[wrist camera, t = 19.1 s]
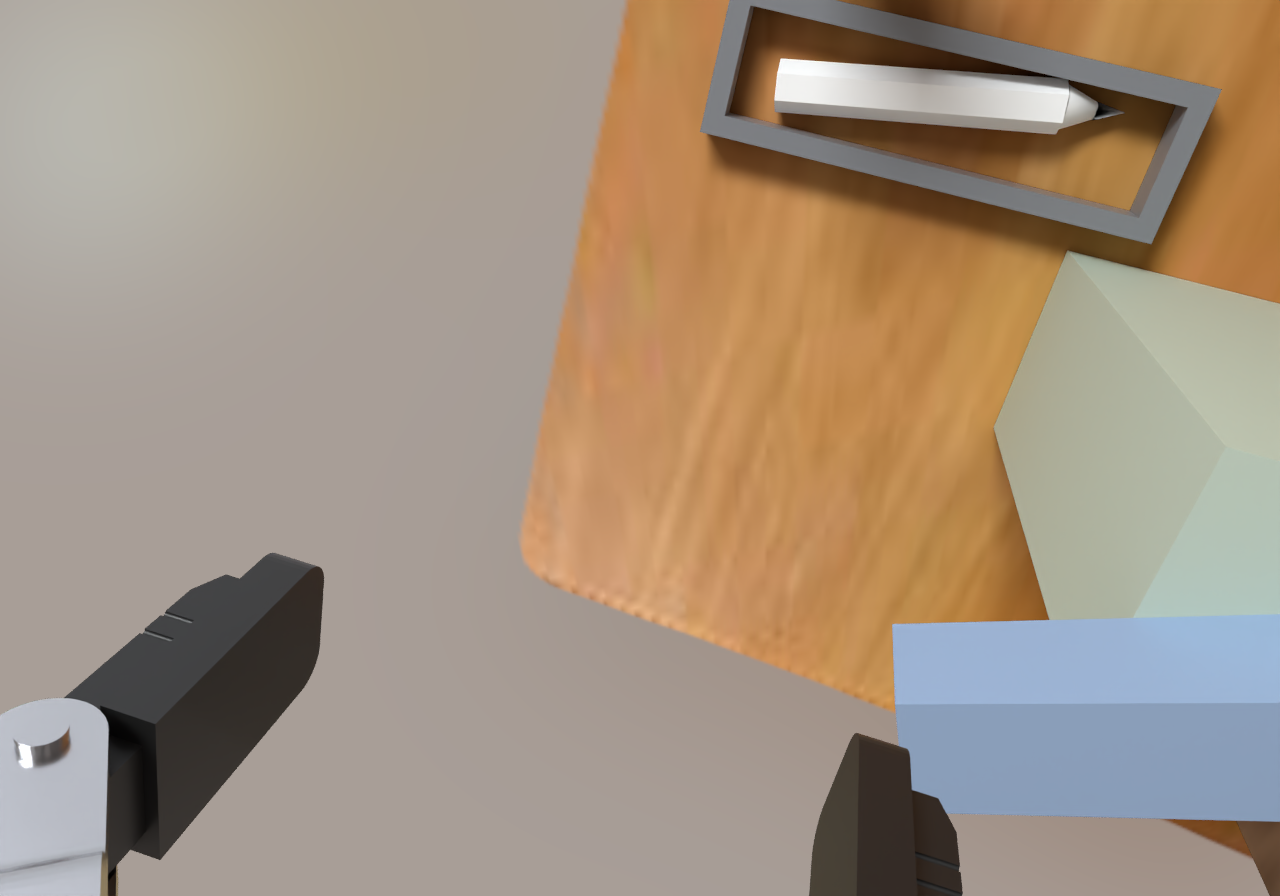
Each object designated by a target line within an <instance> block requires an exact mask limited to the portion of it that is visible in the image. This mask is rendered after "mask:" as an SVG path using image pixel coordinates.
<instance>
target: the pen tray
mask: <svg viewBox="0 0 1280 896" xmlns="http://www.w3.org/2000/svg"><path fill="white" fill-rule="evenodd" d="M754 6H755V7H760V8H764V9H768V10H772V11H777V12H781V13H785V14H790V15H794V16H798V17H802V18H807V19H811V20H815V21H820V22H824V23H828V24H832V25H837V26H841V27H845V28H850V29H854V30H858V31H862V32H867V33H871V34H875V35H879V36H884V37H888V38H892V39H897V40H901V41H905V42H909V43H914V44H918V45H922V46H927V47H931V48H935V49H939V50H944V51H948V52H952V53H957V54H961V55H965V56H969V57H974V58H978V59H982V60H987V61H991V62H995V63H999V64H1004V65H1008V66H1012V67H1016V68H1021V69H1025V70H1029V71H1034V72H1038V73H1042V74H1046V75H1051V76H1055V77H1059V78H1064V79H1068V80H1072V81H1076V82H1081V83H1085V84H1089V85H1094V86H1098V87H1102V88H1106V89H1111V90H1115V91H1119V92H1124V93H1128V94H1132V95H1136V96H1141V97H1145V98H1149V99H1153V100H1158V101H1162V102H1166V103H1171V104H1175V105H1176V106H1175V109H1174V111H1173V113H1172V116H1171V118H1170V120H1169V122H1168V125H1167V127H1166V129H1165V132H1164V134H1163V136H1162V138H1161V141H1160V143H1159V145H1158V148H1157V150H1156V152H1155V154H1154V157H1153V159H1152V161H1151V163H1150V166H1149V168H1148V170H1147V173H1146V175H1145V177H1144V179H1143V182H1142V184H1141V186H1140V189H1139V191H1138V193H1137V195H1136V198H1135V200H1134V202H1133V205H1132V207H1131V209H1130V211H1128V210H1124V209H1120V208H1116V207H1112V206H1108V205H1104V204H1100V203H1096V202H1092V201H1088V200H1083V199H1079V198H1075V197H1071V196H1067V195H1063V194H1059V193H1055V192H1051V191H1047V190H1043V189H1039V188H1035V187H1031V186H1027V185H1023V184H1018V183H1014V182H1010V181H1006V180H1002V179H998V178H994V177H990V176H986V175H982V174H978V173H974V172H970V171H966V170H962V169H958V168H953V167H949V166H945V165H941V164H937V163H933V162H929V161H925V160H921V159H917V158H913V157H909V156H905V155H901V154H897V153H893V152H889V151H884V150H880V149H876V148H872V147H868V146H864V145H860V144H856V143H852V142H848V141H844V140H840V139H836V138H832V137H828V136H824V135H819V134H815V133H811V132H807V131H803V130H799V129H795V128H791V127H787V126H783V125H779V124H775V123H771V122H767V121H763V120H759V119H754V118H750V117H746V116H742V115H738V114H734V113H730V108H731V103H732V99H733V95H734V91H735V87H736V82H737V78H738V74H739V70H740V65H741V61H742V57H743V53H744V48H745V44H746V40H747V36H748V31H749V27H750V23H751V19H752V15H753V10H754ZM1221 90H1222V89H1218V88H1214V87H1209V86H1205V85H1201V84H1196V83H1192V82H1188V81H1183V80H1179V79H1175V78H1170V77H1166V76H1162V75H1157V74H1153V73H1149V72H1144V71H1140V70H1136V69H1131V68H1127V67H1123V66H1118V65H1114V64H1110V63H1105V62H1101V61H1097V60H1092V59H1088V58H1084V57H1079V56H1075V55H1071V54H1066V53H1062V52H1058V51H1053V50H1049V49H1045V48H1040V47H1036V46H1032V45H1027V44H1023V43H1019V42H1014V41H1010V40H1006V39H1001V38H997V37H993V36H988V35H984V34H980V33H975V32H971V31H967V30H962V29H958V28H954V27H949V26H945V25H941V24H936V23H932V22H928V21H923V20H919V19H915V18H910V17H906V16H902V15H897V14H893V13H889V12H884V11H880V10H876V9H871V8H867V7H863V6H858V5H854V4H850V3H845V2H841V1H837V0H730V1H729V6H728V10H727V14H726V19H725V23H724V28H723V32H722V37H721V41H720V46H719V50H718V55H717V59H716V63H715V68H714V72H713V77H712V81H711V86H710V90H709V95H708V99H707V103H706V108H705V112H704V117H703V121H702V126H701V130H700V132H703V133H707V134H711V135H715V136H719V137H723V138H727V139H731V140H735V141H739V142H743V143H747V144H751V145H755V146H759V147H763V148H767V149H771V150H775V151H779V152H783V153H787V154H791V155H795V156H799V157H803V158H807V159H811V160H815V161H819V162H823V163H827V164H831V165H835V166H839V167H843V168H847V169H851V170H855V171H859V172H863V173H867V174H871V175H875V176H879V177H883V178H887V179H891V180H895V181H899V182H903V183H907V184H911V185H915V186H919V187H923V188H927V189H931V190H935V191H939V192H943V193H947V194H951V195H955V196H959V197H963V198H967V199H971V200H975V201H979V202H983V203H987V204H991V205H996V206H1000V207H1004V208H1008V209H1012V210H1016V211H1020V212H1024V213H1028V214H1032V215H1036V216H1040V217H1044V218H1048V219H1052V220H1056V221H1060V222H1064V223H1068V224H1072V225H1076V226H1080V227H1084V228H1088V229H1092V230H1096V231H1100V232H1104V233H1108V234H1112V235H1116V236H1120V237H1124V238H1128V239H1132V240H1136V241H1140V242H1144V243H1148V244H1152V242H1153V239H1154V237H1155V235H1156V233H1157V231H1158V228H1159V226H1160V224H1161V222H1162V220H1163V217H1164V215H1165V213H1166V211H1167V209H1168V206H1169V204H1170V202H1171V200H1172V198H1173V195H1174V193H1175V191H1176V189H1177V187H1178V184H1179V182H1180V180H1181V178H1182V176H1183V174H1184V171H1185V169H1186V167H1187V165H1188V163H1189V160H1190V158H1191V156H1192V154H1193V152H1194V149H1195V147H1196V145H1197V143H1198V141H1199V138H1200V136H1201V134H1202V132H1203V130H1204V127H1205V125H1206V123H1207V121H1208V119H1209V116H1210V114H1211V112H1212V110H1213V108H1214V105H1215V103H1216V101H1217V99H1218V97H1219V94H1220V92H1221Z"/></svg>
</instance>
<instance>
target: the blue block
mask: <svg viewBox="0 0 1280 896" xmlns="http://www.w3.org/2000/svg"><path fill="white" fill-rule="evenodd" d="M892 627H893V657H894V687H895V709H896V719H897V730H898V741H899V746H900V747H903V748H907V749H908V750H909V753H910V763H911V782H912V790H914V791H917V792H920V793H924V794H927V795H930V796H933V797H936V798H938V799H939V801H940V802H941V804H942V806H943V808H944V810H945V812H946V813H950V814H990V815H1030V816H1032V815H1033V816H1071V817H1072V816H1074V817H1111V818H1112V817H1113V818H1150V819H1151V818H1152V819H1190V820H1231V821H1271V822H1280V614H1268V615H1229V616H1190V617H1152V618H1113V619H1074V620H1035V621H996V622H957V623H918V624H892Z"/></svg>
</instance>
